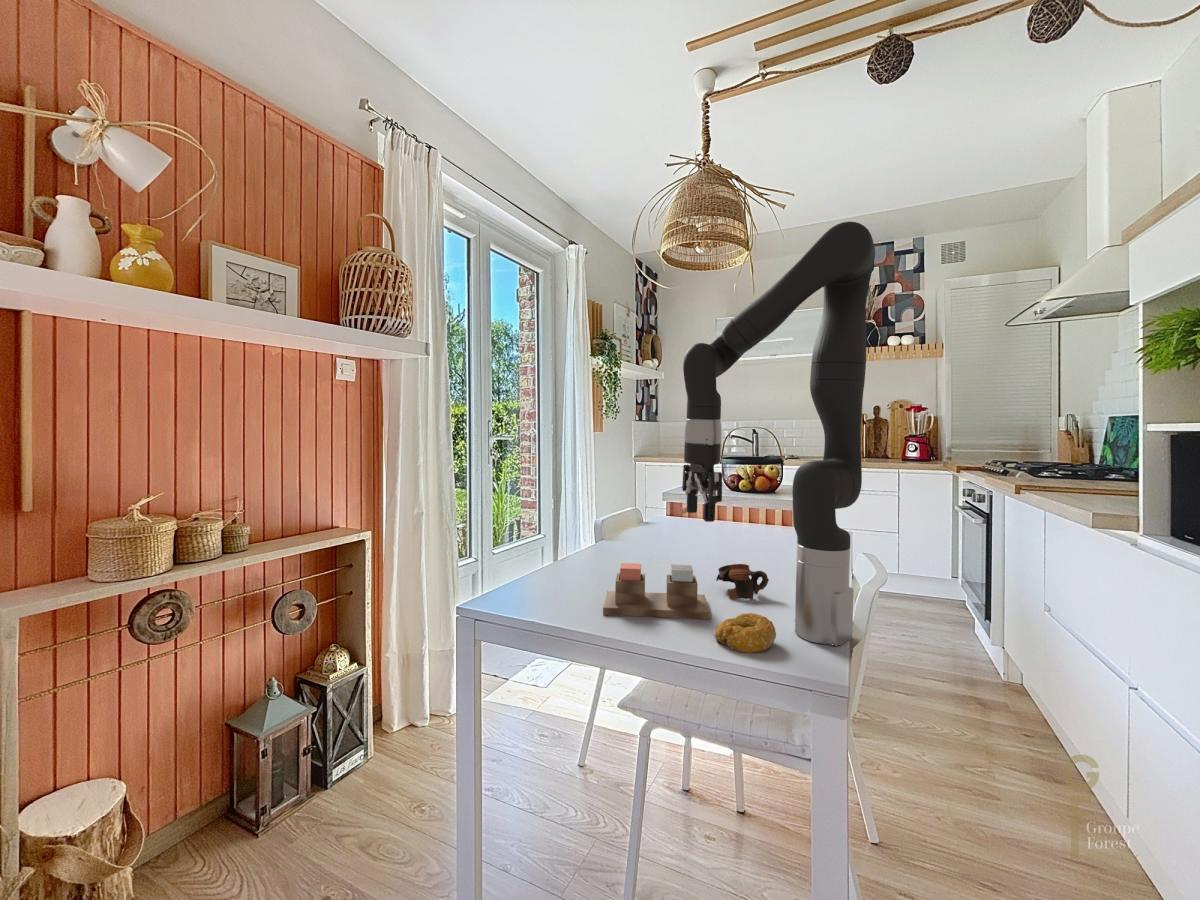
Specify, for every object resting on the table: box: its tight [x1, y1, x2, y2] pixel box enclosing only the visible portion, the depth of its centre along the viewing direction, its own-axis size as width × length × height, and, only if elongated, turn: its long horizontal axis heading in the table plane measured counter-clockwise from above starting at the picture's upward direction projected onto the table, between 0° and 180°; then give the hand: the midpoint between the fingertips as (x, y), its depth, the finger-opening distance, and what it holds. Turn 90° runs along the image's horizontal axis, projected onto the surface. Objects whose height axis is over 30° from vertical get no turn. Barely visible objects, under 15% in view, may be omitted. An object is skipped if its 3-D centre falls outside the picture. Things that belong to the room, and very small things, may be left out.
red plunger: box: [619, 562, 642, 581], centre depth 114 cm, size 4×4×5 cm
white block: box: [670, 564, 694, 583], centre depth 113 cm, size 4×4×5 cm
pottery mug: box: [715, 563, 770, 600], centre depth 123 cm, size 12×10×8 cm
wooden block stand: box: [602, 572, 711, 620], centre depth 113 cm, size 22×11×6 cm, turn 84°
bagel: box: [713, 612, 777, 654], centre depth 96 cm, size 10×11×5 cm
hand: (700, 516), depth 111 cm, fingers open, 8 cm apart
